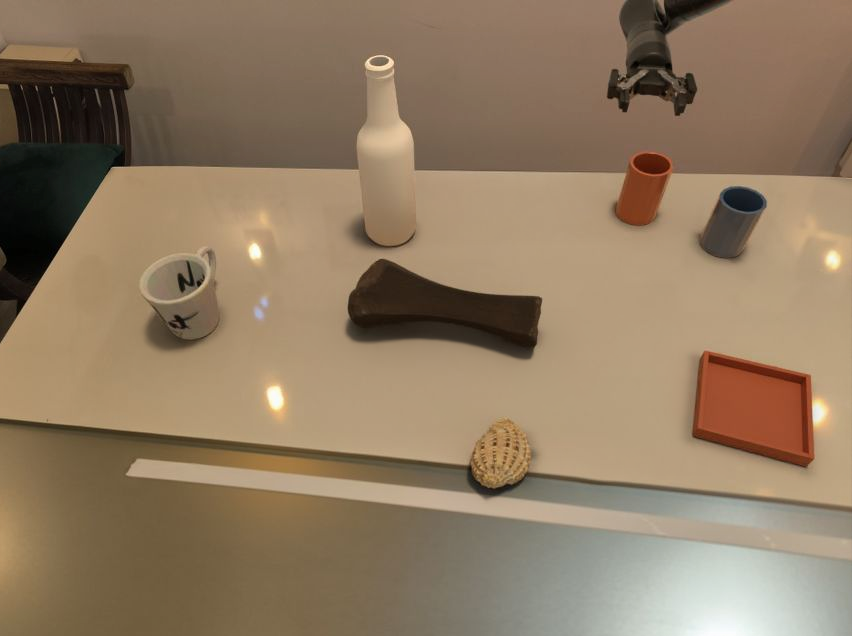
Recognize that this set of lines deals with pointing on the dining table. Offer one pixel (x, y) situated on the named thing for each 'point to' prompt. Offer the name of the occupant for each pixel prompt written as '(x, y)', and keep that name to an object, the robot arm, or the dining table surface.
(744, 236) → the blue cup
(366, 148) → the alcohol
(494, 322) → the dark brown bone
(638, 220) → the terracotta cup
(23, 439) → the dining table surface
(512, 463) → the seashell
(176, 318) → the mug
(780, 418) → the terracotta tray
